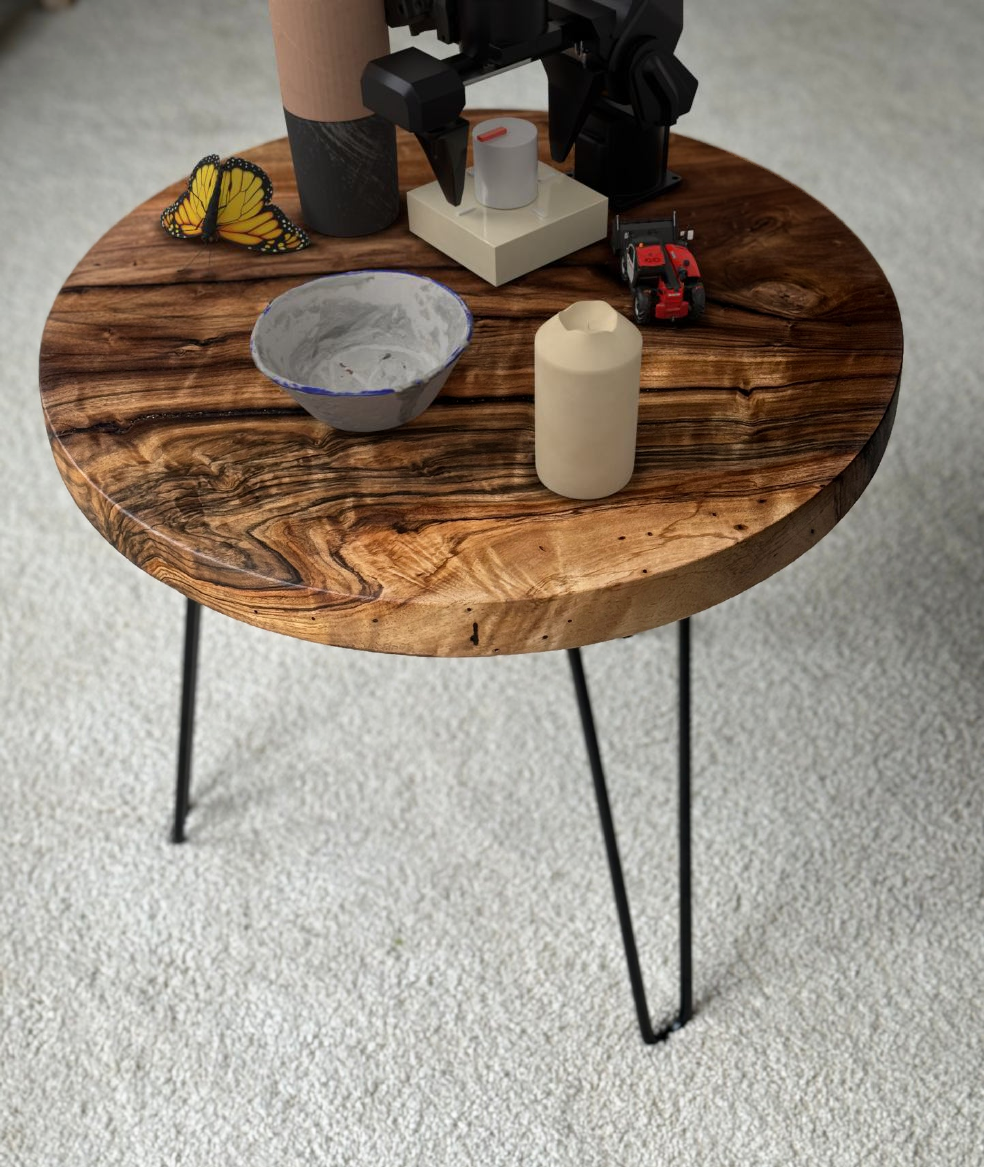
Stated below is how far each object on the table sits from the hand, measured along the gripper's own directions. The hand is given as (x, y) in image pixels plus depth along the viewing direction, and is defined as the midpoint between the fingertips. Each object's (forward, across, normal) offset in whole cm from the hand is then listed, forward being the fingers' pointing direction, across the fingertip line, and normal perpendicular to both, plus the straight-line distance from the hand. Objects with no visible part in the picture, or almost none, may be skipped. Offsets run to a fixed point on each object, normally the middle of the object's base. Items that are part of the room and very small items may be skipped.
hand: (506, 182), depth 85 cm
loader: (+4, -3, +12) cm, 13 cm away
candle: (+4, +13, +23) cm, 27 cm away
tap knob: (+1, 0, 0) cm, 1 cm away
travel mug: (+4, +7, -10) cm, 13 cm away
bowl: (+4, +18, +9) cm, 21 cm away
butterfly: (0, +18, -11) cm, 21 cm away
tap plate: (+4, 0, 0) cm, 4 cm away
